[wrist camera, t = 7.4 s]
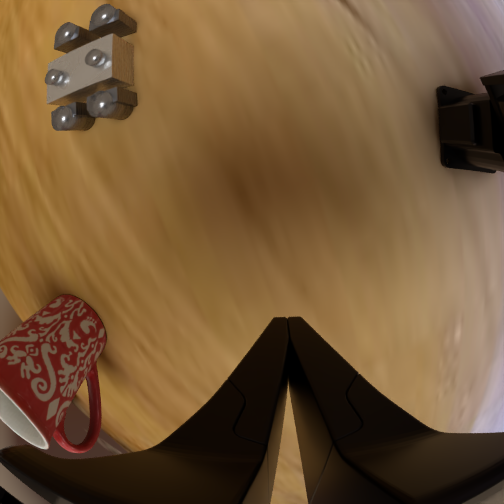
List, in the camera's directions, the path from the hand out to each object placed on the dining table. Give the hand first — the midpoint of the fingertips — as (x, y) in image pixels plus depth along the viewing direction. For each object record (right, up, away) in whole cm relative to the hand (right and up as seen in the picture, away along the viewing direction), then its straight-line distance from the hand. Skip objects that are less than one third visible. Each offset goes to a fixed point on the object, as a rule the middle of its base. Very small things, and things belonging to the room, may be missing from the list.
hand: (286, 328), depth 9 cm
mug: (-18, -6, +17) cm, 26 cm away
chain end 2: (-11, +16, +7) cm, 21 cm away
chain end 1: (-14, +16, +8) cm, 23 cm away
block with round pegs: (-13, +16, +8) cm, 22 cm away
